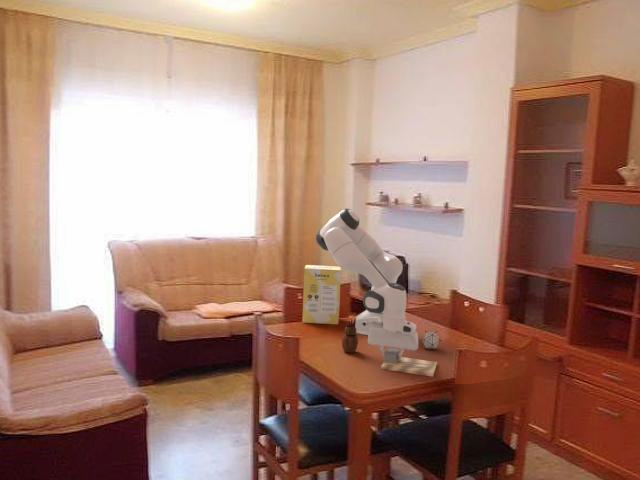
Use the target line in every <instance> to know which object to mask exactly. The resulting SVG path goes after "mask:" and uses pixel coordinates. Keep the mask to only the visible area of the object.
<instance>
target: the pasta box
mask: <svg viewBox="0 0 640 480" xmlns="http://www.w3.org/2000/svg"><path fill="white" fill-rule="evenodd" d="M303 271H304V272H303V296H302V297H303V298H302V323H303V324H304V323H306V324H324V325H325V324H326V325H327V324H328V325H339V320H340V319H339V318H340V302H341V301H340V297H341V295H340V294H341V275H342V273H341V272H342V268H341V267H340V266H339V265H337V266H334V265H329V266H328V265H313V264H306V265H305V266H304V269H303Z"/></svg>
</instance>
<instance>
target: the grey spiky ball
mask: <svg viewBox="0 0 640 480" xmlns="http://www.w3.org/2000/svg"><path fill="white" fill-rule="evenodd" d="M424 332H425V334H423V337H422V339H420V341H421V342H422V344H424V347H425V348H424V350H425V351H426V350H427V349H435V350H436V351H437V350H438V346H439V344H440V342H441V341H442V339H440V337H439V335H438V331H437V330H436V331H434V332H433V331H427V330H425V331H424ZM442 342H443V341H442Z"/></svg>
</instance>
